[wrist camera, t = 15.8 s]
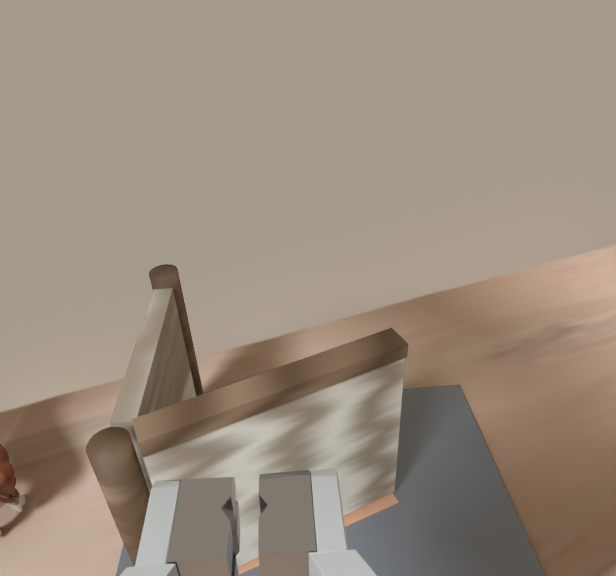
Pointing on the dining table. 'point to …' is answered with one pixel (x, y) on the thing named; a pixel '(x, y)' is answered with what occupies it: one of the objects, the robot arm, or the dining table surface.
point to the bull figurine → (8, 484)
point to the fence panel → (289, 428)
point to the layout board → (436, 502)
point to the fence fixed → (145, 404)
